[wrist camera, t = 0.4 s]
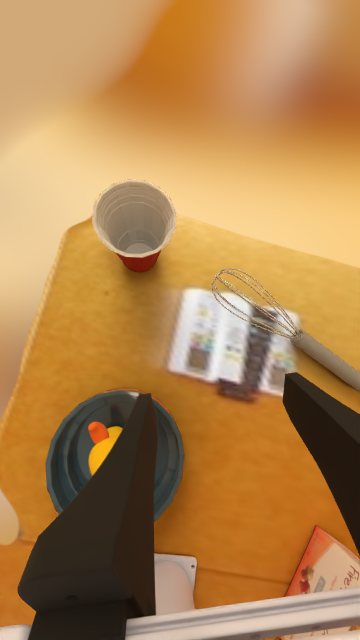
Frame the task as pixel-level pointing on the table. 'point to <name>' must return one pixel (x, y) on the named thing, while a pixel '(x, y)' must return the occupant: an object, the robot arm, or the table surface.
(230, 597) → the table surface
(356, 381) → the kitchen whisk
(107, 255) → the table surface
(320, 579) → the cracker box
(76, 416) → the bowl
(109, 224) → the plastic cup
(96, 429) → the duckling
